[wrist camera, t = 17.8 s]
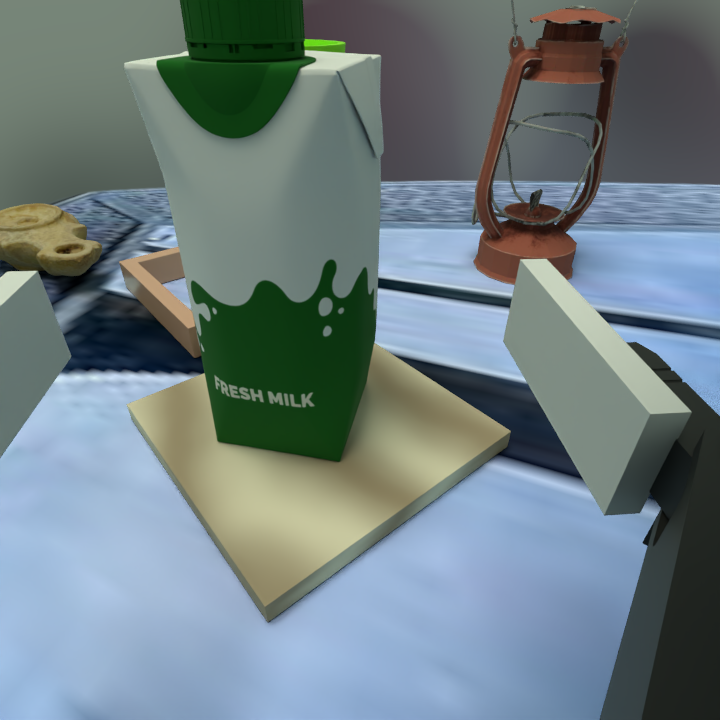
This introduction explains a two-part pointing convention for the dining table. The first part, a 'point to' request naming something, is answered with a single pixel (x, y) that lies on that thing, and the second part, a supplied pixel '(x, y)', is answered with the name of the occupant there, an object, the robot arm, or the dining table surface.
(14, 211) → the oil lamp
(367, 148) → the green white milk carton
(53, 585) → the dining table surface
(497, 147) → the lantern
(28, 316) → the robot arm
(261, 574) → the board
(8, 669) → the dining table surface
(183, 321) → the holder
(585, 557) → the dining table surface
